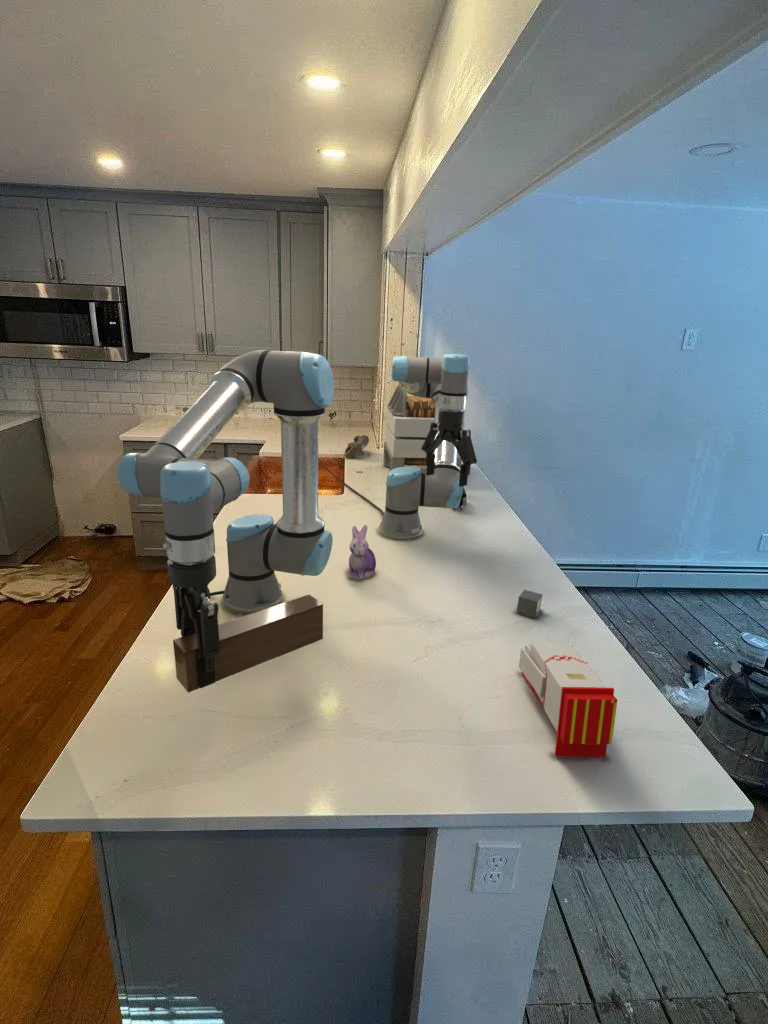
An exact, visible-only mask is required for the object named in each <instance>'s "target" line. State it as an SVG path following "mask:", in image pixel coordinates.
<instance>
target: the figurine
mask: <svg viewBox="0 0 768 1024" xmlns="http://www.w3.org/2000/svg"><path fill="white" fill-rule="evenodd" d="M351 528H352V529H351V534H352V539H351V541H350V543H349V551H350V552H351V553H350V555H349V558H348V567H349V568H348V571H347V572H348V574H349V576H348V577H349V578H350V579H354V580H363V579H368V578H370V577H372V576H373V575H374V574H375V571H376V566H377V560H376V555H375V553H374V552H373V550H372V549H371V548H369V547H370V545H369V542H368V541H367V539H366V536H367V533H368V525H367V524H365V525H363V527H362V528H361V529H360V531H359V529H358V528H357V526H356V525H353V526H352V527H351Z"/></svg>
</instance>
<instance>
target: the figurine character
mask: <svg viewBox="0 0 768 1024" xmlns="http://www.w3.org/2000/svg"><path fill="white" fill-rule="evenodd" d="M467 503H468V498H467V492H466V489H465V486H463V491H462V496H461V501H460V504H459V506H458V507H457V508H452V509H453V511H456V509H460V511H463V507H464V508H465V507H467Z"/></svg>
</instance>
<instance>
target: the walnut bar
mask: <svg viewBox="0 0 768 1024" xmlns="http://www.w3.org/2000/svg"><path fill="white" fill-rule="evenodd" d="M218 629H219V643H220V654H218V655H215V656H214V665H215V681H216V682H219V681H221V680H223V679H226V678H229V677H231V676H234V675H237V674H239V673H241V672H244V671H247V670H249V669H252V668H254V667H256V666H259V665H261V664H264V663H267V662H269V661H271V660H274V659H276V658H279V657H282V656H284V655H286V654H289V653H291V652H294V651H296V650H299V649H302V648H304V647H306V646H308V645H311V644H314V643H316V642H319V641H321V640H323V639H324V603H323V602H321V601H319V600H318V599H316V598H315V597H314V596H312V595H311V594H306V595H304V596H303V595H302V596H301V597H297V598H295V599H291V600H288V601H285V602H281V603H280V604H279V605H276V606H273V607H270V608H267V609H264V610H261V611H258V612H255V613H252V614H245V615H243V616H239V617H237V618H235V619H231V620H228V621H225V622H222V623H218ZM172 644H173V654H174V664H175V674H176V679H177V681H178V682H179V683H180V685H181V686H182V687H183V688H184V690H185V691H186V692H187V694H189V693H191V692H193V691H196V690H199V689H201V688H200V687H199V680H198V666H197V659H196V657H195V654H198V653H199V650H198V645H197V639H196V633H192V634H189V635H186V636H183V637H182V636H180V637H177V638H175V639H173V640H172Z"/></svg>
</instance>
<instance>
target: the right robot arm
mask: <svg viewBox="0 0 768 1024" xmlns="http://www.w3.org/2000/svg"><path fill="white" fill-rule="evenodd" d="M469 370H470V357H469V355H467V354H462V353H445V354H444V355H443V357H424V356H423V357H421V356H407V355H402V356H400V355H396V356H394V357H393V358H392V363H391V380H392V381H394V382H397V383H399V384H398V385H400V386H401V388H402V389H403V390H404V391H405V392H406V393H407V394H409V395H410V396H415V397H421V398H431V402H432V404H433V405H434V406H435V420H434V423H431V427H430V431H429V433H428V435H427V437H426V439H425V441H424V444H423V446H422V448H421V449H422V450H423V451H425V452H426V464H427V466H426V472H422V469H421V468H420V467H419V466H418V467H417V466H407V465H406V466H404V467H399V468H395V469H393V470H391V471H390V470H389V471H388V473H387V475H386V482H385V487H386V488H385V489H386V490H385V504H384V505H385V507H384V508H385V509H384V511H383V509H381V508H380V507H378V506H377V505H376V504H374V503H373V502H372V501H371V500H369V499H368V498H366V497H365V496H363V495H362V494H361V493H360V492H358V491H357V490H355V489H353V487H351V486H349V485H348V484H347V483H346V482H344V481H343V480H341V478H339V477H338V476H337V475H335V474H334V473H333V472H332V471H331V470H330V469H329V468H328V467H327V466H326V465H325V464H324V463H323V461H322V460H321V459H320V458H319V457H318V462H319V463H320V464H321V465H322V466H323V468H325V469H326V470H327V472H329V473H330V475H332V476H333V477H334V478H335V479H336V480H338V481H339V482H340V483H341V484H342V485H344V486H345V487H347V488H348V489H349V490H351V491H352V492H353V493H355V494H356V495H358V496H359V497H361V498H362V499H363V500H364V501H366V502H368V503H369V504H370V505H371V506H373V507H374V508H375V509H376V510H378V511H379V512H380V513H381V514H382V519H381V522H379V527H378V533H379V534H380V535H381V536H382V537H385V538H387V539H389V540H395V541H410V540H415V539H418V538H420V537H421V536H422V535H423V525H422V524H421V518H420V515H419V507H425V508H437V509H438V508H439V509H453V508H455V509H458V508H457V507H458V506H459V504H460V501H461V496H462V491H463V486H464V487H466V486H468V479H469V476H470V474H471V467H472V465H474V464H477V463H478V460H477V455H476V453H475V448H474V445H473V441H472V430H471V429H464V430H462V425H463V423H464V424H465V421H464V420H465V416H466V415H465V414H466V413H465V411H464V410H466V406H467V405H466V404H467V399H468V394H469ZM457 451H458V454H459V456H460V458H461V460H462V462H461V468H459V467H458V466H457ZM432 453H433V454H432Z"/></svg>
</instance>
